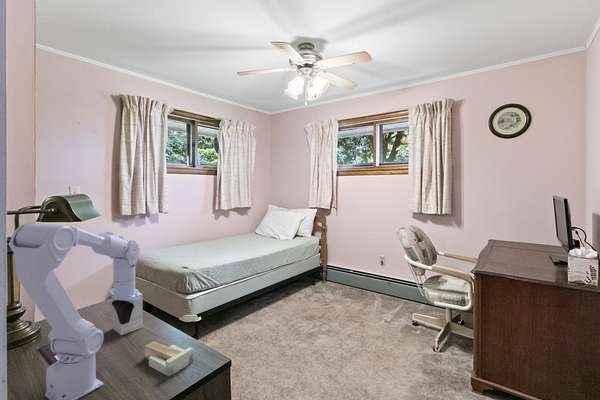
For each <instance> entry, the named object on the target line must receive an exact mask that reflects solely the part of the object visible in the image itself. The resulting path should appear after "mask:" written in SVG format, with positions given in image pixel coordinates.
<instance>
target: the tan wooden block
mask: <svg viewBox="0 0 600 400" xmlns="http://www.w3.org/2000/svg"><path fill="white" fill-rule="evenodd" d="M180 352H181V351H178V350H176V349H173V348H170V347H169V346H167V345H166V344H165V345H164V344H162V343H159V342H157V341H151V342H149V343H148V344H145V345H144V359H146V360H148V361H149V357H150V356H152V355H155V356H157V357H159V358H161V359H163V360H165V361H166V360H168V359H170V358H172V357H173V356H175V355H177V354H179V353H180Z"/></svg>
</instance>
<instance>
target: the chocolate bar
mask: <svg viewBox="0 0 600 400" xmlns="http://www.w3.org/2000/svg"><path fill="white" fill-rule="evenodd" d="M38 348H39V349H38V350H39V351H40V352H41V353H42V355H44V357H45V358H46V359H47V361H48V362H49V363H50V364H51V365H52V364H54V363H55V362H57V361H58V360H59V358H57V353H54V352H53V351H52V350H51V343H49V344H46V345H43V346H40V347H38Z"/></svg>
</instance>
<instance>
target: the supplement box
mask: <svg viewBox="0 0 600 400" xmlns="http://www.w3.org/2000/svg"><path fill="white" fill-rule="evenodd" d="M137 294H138V295H139V296H140V297H141V298H142V299H143V293H141V292H140V291H139V292H138V293H137ZM113 301H115V299H113V298H112V302H113ZM143 317H144V316H143V303H142V304H140V305H138V306H134V308H133V311H132V314H131V317H130V321H129V323H126V324H124V325H122V324H120V322H119V319H118V315H117V312H116V310H115V308H114V307H113V306H112V329H113V331H116V333H118V334H119V335H120V336H123V335H126V334H129V333H131V332H134V331H137V330H140V329H143V328H142V327H143V326H144V325H143V319H144V318H143Z"/></svg>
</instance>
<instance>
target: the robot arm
mask: <svg viewBox="0 0 600 400" xmlns="http://www.w3.org/2000/svg"><path fill="white" fill-rule="evenodd" d="M78 245H80V246H83V247H84V246H86V247H90V248H91V249H92V251H93V253H95V254H98V255H101V256H102V255H103V256H107V257H109V258H110V259H112V264H113V265H112V266H113V267H112V269H113V273H112V274H113V275H112V276H113V277H112V279H113V286H112V287H113V288H110V289H109V288H108V289H107V296H108V297H112V301H111V303H110V304H111V305H112V308H113V307H114V308H115V310H116V312H117V315H118V319H119V322H120V324H122V325H124V324H126V323H129V321H130V317H131V314H132V311H133V308H134V306H138V305H140V304H142V305H143V297H142V298H141V297H140V296H139V295H138V294H137V293H138V292H140V290H139V289H136V264H137V263H138V258H139V257H138V256H139V254H140V252H141V247H140V245H139V243H137V242H136V241H135V240H133V239H131V240H130V239H129V240H128V239H125V237H124V236H116V235H114V232H111V231H105V232H102V233H99V234H95V233H93V232H90V231H87V230H85V229H82V228H79V227H77V226H73V225H71V226H70V225H68V224H48V223H47V224H43V223H34V222H26V223H23V224H21V225H19V226H18V227H17V228H15V230H14V232H13V233H12V236H11V238H10V240H9V242H8V246H9V247H10V249H11V251H12V252H13V254H14V261H15V263H14V264H15V275H16V278H17V279H18V281H19V282H20V283H21V285H22V287H23V288H24V290H25V291H26V293H27V294H28V296H29V298H30V299H31V300H32V301H33V303H34V304H35V305H36V308H38V310H39V311H40V313H41V315H42V316H43V317H44V319H45V320H46V322H47V323H48V325H49V326H50V327H51V330H50V332H49V333H48V335H47V338H48V339H49V341H50V344H51V350H52V351H53V352H54V353H57V358H59V360H58V361H57V362H55V363H54V364H51V365H49V366H47V368H46V370H45V386H46V387H45V389H46V390H45V391H46V392H45V394H44V395H45V397H46V398H47V399H48V400H79V399H80V398H82V397H84V396H85V395H88V394H90V393H91V392H93V391H95V390H96V389H99V388H100V387H102V386H104V382H102V381H101V380H100V379H98V378H97V377H96V374H97V371H96V368H97V367H96V366H97V365H96V361H97V360H96V358H97V355H96V354H97V352H99V351H100V349H101V347H102V345H103V343H104V332H103V331H102V330H101V329H100V328H97V327H96V326H95V324H94V323H92V322H90V321H89V320H86V319H84V318H82V317H81V315H80V313H79V311H78V309H77V308H76V305H75V304H74V302H73V301H72V300H71V297H70V296H69V295H68V293H67V291H66V289H65V287H64V286H63V284H62V282H61V280H60V279H59V278H58V276H57V274H56V273H55V270H56V269H57V268H58V267H60V266H61V264H62V262H63V261H64V260H65V258H66V256H67V255H68V254H69V253H70V251H71V250H72V248H73V247H77V246H78ZM113 299H115V301H113Z"/></svg>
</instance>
